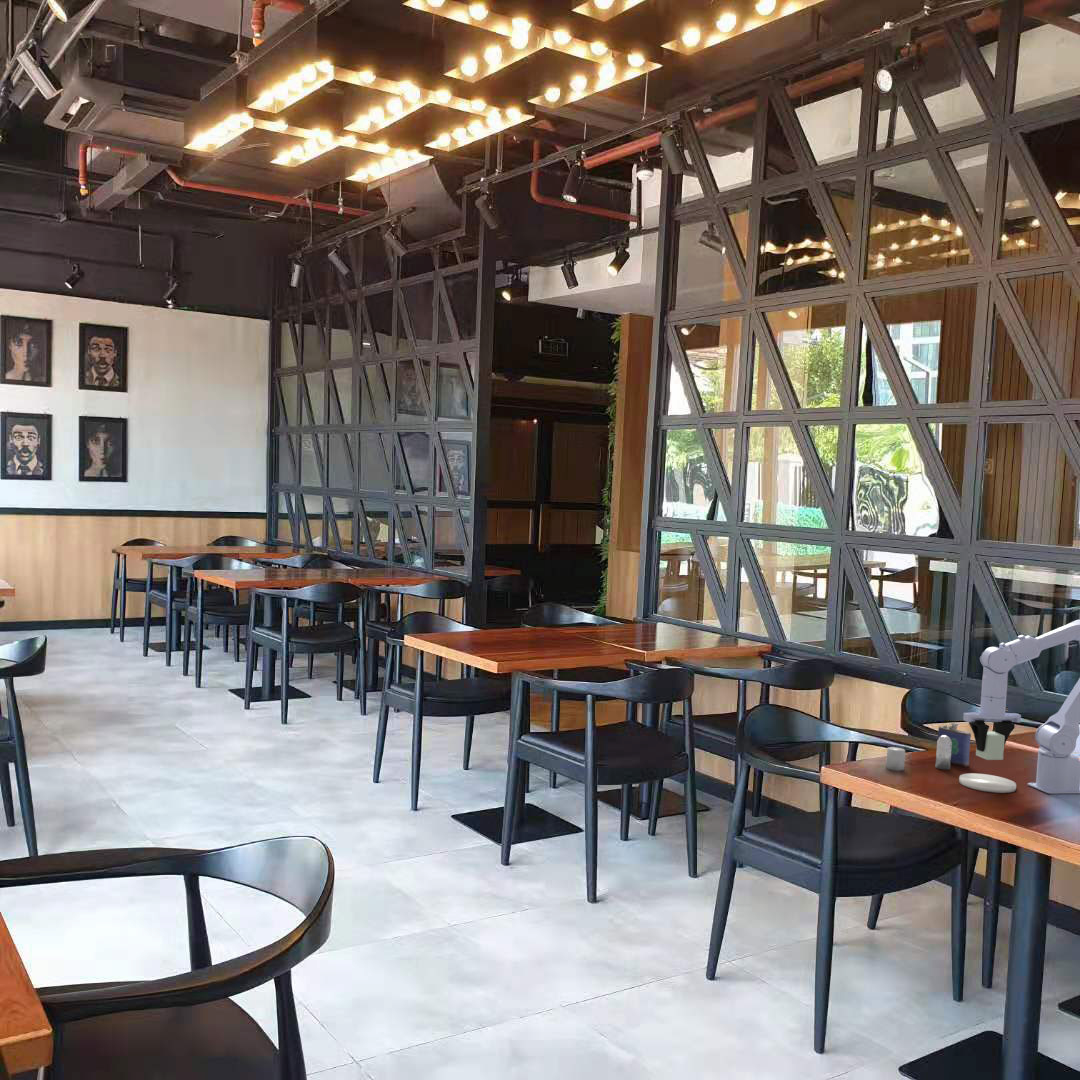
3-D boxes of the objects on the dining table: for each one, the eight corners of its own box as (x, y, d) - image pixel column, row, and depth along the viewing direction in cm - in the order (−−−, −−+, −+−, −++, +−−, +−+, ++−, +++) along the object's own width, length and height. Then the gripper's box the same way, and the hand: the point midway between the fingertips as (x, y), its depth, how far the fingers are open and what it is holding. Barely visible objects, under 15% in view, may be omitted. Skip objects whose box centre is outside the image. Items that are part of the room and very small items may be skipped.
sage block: (992, 755, 269) (993, 731, 269) (1003, 759, 265) (1004, 735, 265) (975, 755, 268) (977, 731, 268) (986, 759, 264) (988, 735, 264)
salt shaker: (945, 765, 285) (947, 733, 285) (952, 769, 281) (955, 736, 281) (932, 765, 284) (935, 733, 284) (940, 769, 281) (942, 736, 280)
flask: (970, 765, 287) (973, 726, 286) (964, 767, 285) (967, 727, 284) (939, 758, 294) (941, 719, 293) (933, 759, 292) (935, 720, 292)
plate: (994, 778, 275) (995, 773, 275) (1027, 792, 262) (1027, 787, 262) (948, 778, 272) (949, 773, 272) (979, 792, 259) (979, 788, 259)
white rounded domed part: (898, 766, 282) (899, 747, 282) (907, 770, 278) (908, 751, 278) (882, 766, 281) (884, 747, 281) (891, 770, 277) (892, 751, 277)
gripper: (1010, 693, 271) (1006, 746, 272) (957, 692, 268) (954, 746, 269) (1027, 699, 264) (1023, 753, 265) (974, 698, 262) (970, 753, 262)
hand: (989, 750), depth 267 cm, fingers closed on sage block, 4 cm apart
